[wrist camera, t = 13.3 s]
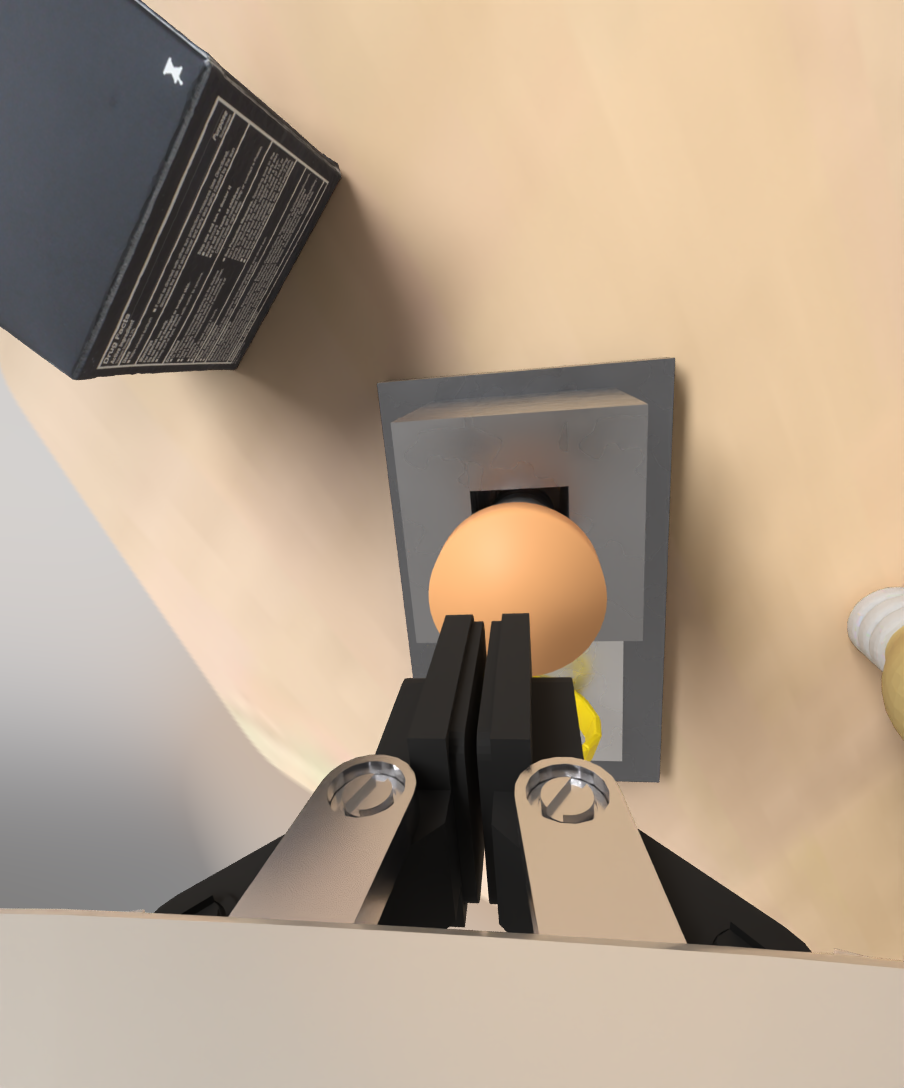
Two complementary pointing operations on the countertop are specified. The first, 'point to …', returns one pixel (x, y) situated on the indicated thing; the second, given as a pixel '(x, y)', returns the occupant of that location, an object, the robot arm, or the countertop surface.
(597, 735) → the watch
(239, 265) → the small box
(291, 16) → the countertop surface
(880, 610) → the light bulb
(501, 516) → the light orange ellipsoid
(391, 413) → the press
